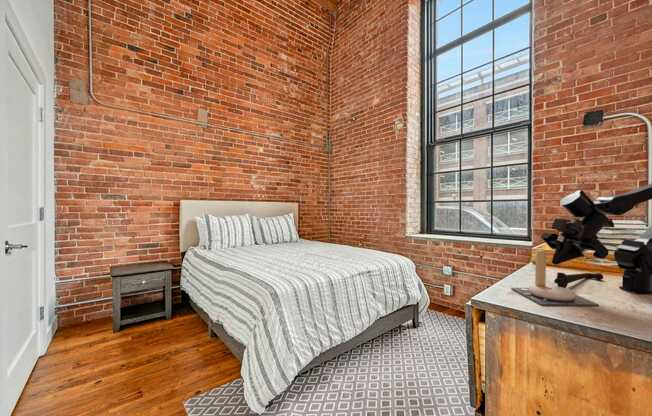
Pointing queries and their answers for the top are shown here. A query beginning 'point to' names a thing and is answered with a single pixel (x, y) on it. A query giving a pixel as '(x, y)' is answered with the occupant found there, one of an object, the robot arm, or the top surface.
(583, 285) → the top surface
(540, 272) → the beige stand
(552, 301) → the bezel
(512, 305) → the top surface
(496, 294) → the top surface
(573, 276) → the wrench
